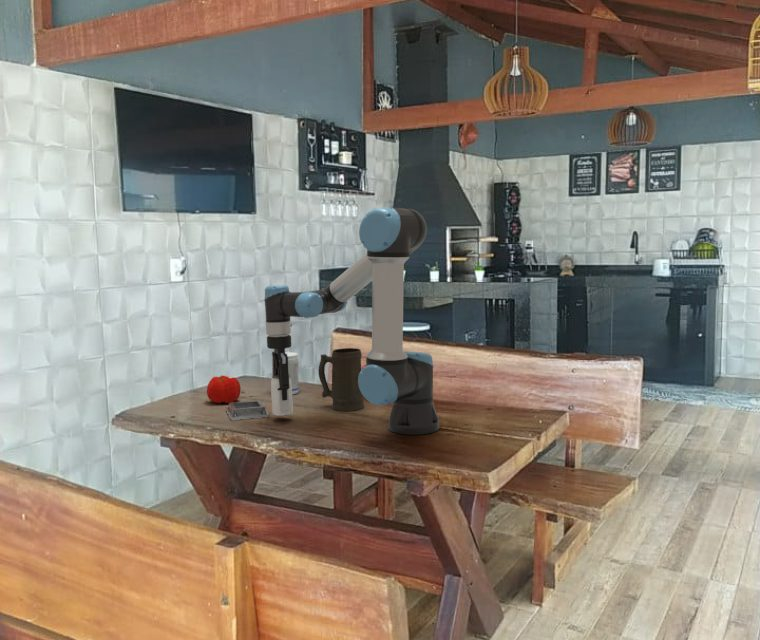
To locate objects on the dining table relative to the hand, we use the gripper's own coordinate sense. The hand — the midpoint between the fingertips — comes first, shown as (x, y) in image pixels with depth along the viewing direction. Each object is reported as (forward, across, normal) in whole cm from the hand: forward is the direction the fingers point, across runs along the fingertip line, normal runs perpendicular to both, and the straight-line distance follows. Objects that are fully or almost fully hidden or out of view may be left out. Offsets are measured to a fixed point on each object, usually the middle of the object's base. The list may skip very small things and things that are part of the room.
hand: (282, 407), depth 227 cm
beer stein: (+4, +10, -22) cm, 24 cm away
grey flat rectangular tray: (+4, +12, +9) cm, 16 cm away
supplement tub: (+4, +38, -9) cm, 40 cm away
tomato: (+3, +32, +14) cm, 36 cm away
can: (+2, 0, 0) cm, 2 cm away
